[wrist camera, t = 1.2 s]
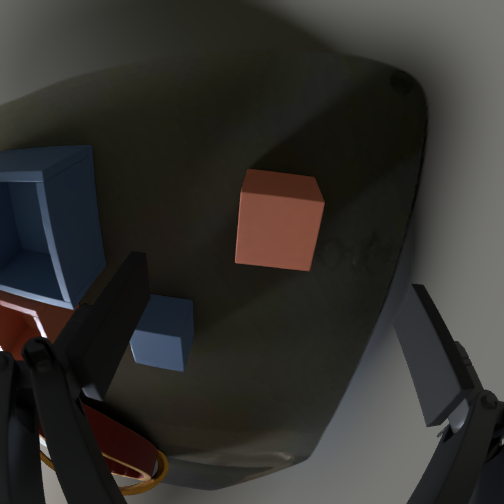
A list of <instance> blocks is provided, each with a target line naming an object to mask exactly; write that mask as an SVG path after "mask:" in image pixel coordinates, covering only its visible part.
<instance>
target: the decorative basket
mask: <svg viewBox="0 0 504 504" xmlns="http://www.w3.org/2000/svg"><path fill="white" fill-rule="evenodd" d="M82 405H83V408H84V410H85V413H86V416H87V418H88V421H89V424H90V426H91V429H92V431H93V434H94V436H95V439H96V441H97V443H98V446H99V448H100V450H101V452H102V455H103V457H104V459H105V461H106V463H107V465H108V468H109V470H110V472H111V474H115V475H120V476H123V477H127V478H133V479H138V480H146V481H144V482H142V483H139V484H135V485H131V486H126V487H119V489H120V491H121V493H122V495H135V494H140V493H143V492H146V491H148V490H150V489H152V488H154V487H155V486H156V485H157V484H159V483H160V482H161V481H162V480H163V479H164V477H165V476H166V474H167V472H168V469H169V464H168V460H167V458H166V456H165V455H164V454H163V453H162V452H161V451H159V450H158V449H156V447H155V446H154V445H153V444H152V443H151V442H149V441H148V440H147V439H145V438H144V437H142V436H140V435H139V434H137V433H135V432H134V431H132V430H130V429H128V428H126V427H125V426H123V425H121V424H119V423H118V422H116V421H114V420H112V419H111V418H109V417H107V416H105V415H104V414H102V413H100V412H98V411H96V410H95V409H93V408H91V407H89V406H87V405H85V404H84V403H82ZM39 436H40V437H42V438H43V439H44V440H45V438H44V434H43V431H42V427H41V423H40V419H39ZM40 458H41V460H42V461H43V462H44V463H45V464H46V465H48V466H49V467H50V468H51V469H53V470H54V471H55V469H54V466H53V464H52V461H51V460H50V459H49V458H48V457H47V456H46V455H45V454H44V453H43V452H42V451H41V450H40ZM156 459H157V461H158V470H157V472H156V473H155V475H154V476H153V477H152V474H153V470H154V467H155V463H156Z"/></svg>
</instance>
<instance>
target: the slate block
mask: <svg viewBox="0 0 504 504" xmlns="http://www.w3.org/2000/svg"><path fill="white" fill-rule="evenodd" d="M150 296H151V298H150V300H149V302H148V304H147V306H146V308H145V310H144V312H143V314H142V317H141V319H140V321H139V323H138V325H137V327H136V329H135V331H134V333H133V335H132V337H131V339H130V344H131V348H132V352H133V355H134V359H135V362H136V363H140V364H144V365H149V366H154V367H159V368H164V369H170V370H175V371H181V372H184V371H185V368H186V364H187V360H188V356H189V353H190V349H191V345H192V342H193V338H194V318H193V300H189V299H182V298H175V297H168V296H161V295H155V294H150Z"/></svg>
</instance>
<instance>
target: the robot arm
mask: <svg viewBox="0 0 504 504" xmlns="http://www.w3.org/2000/svg"><path fill="white" fill-rule="evenodd" d="M150 298H151V296H150V288H149V279H148V270H147V260H146V253H142V252H135V251H131V252H130V254H129V255H128V256H127V258H126V259H125V261H124V262H123V263H122V265H121V266H120V268H119V269H118V270H117V272H116V273H115V275H114V276H113V277H112V279H111V280H110V282H109V283H108V285H107V286H106V287H105V289H104V290H103V292H102V293H101V295H100V296H99V298H98V299H97V301H96V302H95V304H94V305H89V304H85V303H84V304H83V305H82V306H80V307H79V308H78V309H76V310H75V311H74V313H73V314H72V316H71V317H70V320H68V322H67V323H66V325H65V327H64V328H63V329H62V331H61V332H60V334H59V335H58V337H57V338H56V340H55V341H54V343H53V344H51V341H50V340H49V339H47V338H46V337H42V336H38V337H33V338H31V339H29V340H28V341H27V342H26V343H25V344H24V345H23V347H22V349H21V356H22V357H23V359H24V360H15V359H14V357H13V355H12V354H11V353H10V352H8V351H0V504H46V503H45V496H44V489H43V481H42V471H41V458H40V439H39V419H40V423H41V427H42V431H43V434H44V438H45V441H46V445H47V448H48V451H49V454H50V458H51V461H52V464H53V466H54V469H55V472H56V475H57V478H58V480H59V483H60V485H61V488H62V491H63V493H64V495H65V498H66V500H67V503H68V504H127V502H126V501H125V499H124V497H123V495H122V493H121V491H120V489H119V487H118V486H117V484H116V482H115V480H114V478H113V476H112V474H111V472H110V470H109V468H108V465H107V463H106V461H105V459H104V457H103V455H102V452H101V450H100V448H99V446H98V443H97V441H96V439H95V436H94V434H93V431H92V429H91V426H90V424H89V421H88V418H87V416H86V413H85V410H84V408H83V405H82V402H81V399H80V397H79V394H80V392H81V390H82V389H83V391H84V393H85V395H86V396H87V397H90V398H93V399H96V400H99V401H103V400H104V398H105V395H106V393H107V391H108V388H109V386H110V384H111V381H112V379H113V377H114V375H115V372H116V370H117V368H118V366H119V363H120V361H121V359H122V357H123V355H124V352H125V350H126V348H127V346H128V344H129V342H130V339H131V337H132V335H133V333H134V331H135V329H136V327H137V325H138V323H139V321H140V319H141V317H142V314H143V312H144V310H145V308H146V306H147V304H148V302H149V300H150ZM393 325H394V328H395V330H396V333H397V336H398V339H399V341H400V344H401V347H402V350H403V353H404V356H405V358H406V361H407V364H408V367H409V370H410V373H411V376H412V379H413V383H414V386H415V389H416V392H417V395H418V399H419V402H420V405H421V409H422V412H423V416H424V419H425V423H426V426H427V427H431V426H437V425H441V424H442V423H443V422H444V421H445V420H446V419H447V418H448V420H449V424H448V425H447V426H446V427H445V428H444V429H443V430H442V431H441V432H440V433H439V434H438V435H437V437H439V436H441V434H443V435H442V438H441V439H440V442H439V444H438V446H437V448H436V450H435V452H434V454H433V457H432V459H431V461H430V463H429V465H428V466H427V469H426V470H425V472H424V474H423V476H422V478H421V480H420V482H419V483H418V485H417V487H416V489H415V490H414V492H413V494H412V495H411V497H410V499H409V500H408V502H407V504H504V444H503V445H502V440H503V439H504V402H501V401H498V399H497V397H496V396H495V394H493V393H492V392H491V391H489V390H484V389H483V387H482V384H481V382H480V380H479V378H478V375H477V373H476V371H475V369H474V367H473V366H472V363H471V361H470V359H469V357H468V354H467V352H466V351H465V349H464V347H463V346H462V345H461V344H460V343H459V342H458V341H454V340H453V338H452V336H451V334H450V332H449V330H448V329H447V327H446V325H445V323H444V321H443V319H442V317H441V315H440V313H439V312H438V310H437V308H436V306H435V304H434V303H433V301H432V299H431V297H430V295H429V294H428V292H427V290H426V289H425V287H424V285H420V284H411V286H410V288H409V291H408V293H407V295H406V297H405V299H404V302H403V304H402V306H401V308H400V310H399V313H398V315H397V317H396V319H395V321H394V323H393Z"/></svg>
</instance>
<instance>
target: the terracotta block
mask: <svg viewBox="0 0 504 504" xmlns="http://www.w3.org/2000/svg"><path fill="white" fill-rule="evenodd" d="M324 205H325V201H324V199H323V196H322V194H321V191H320V189H319V186H318V184H317V182H316V179H315V177H310V176H303V175H296V174H288V173H280V172H272V171H264V170H255V169H247V172H246V176H245V179H244V183H243V186H242V190H241V196H240V207H239V219H238V231H237V243H236V255H235V263H241V264H250V265H258V266H267V267H276V268H285V269H294V270H303V271H310V268H311V264H312V260H313V255H314V251H315V246H316V242H317V238H318V233H319V228H320V224H321V219H322V214H323V210H324Z"/></svg>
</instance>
